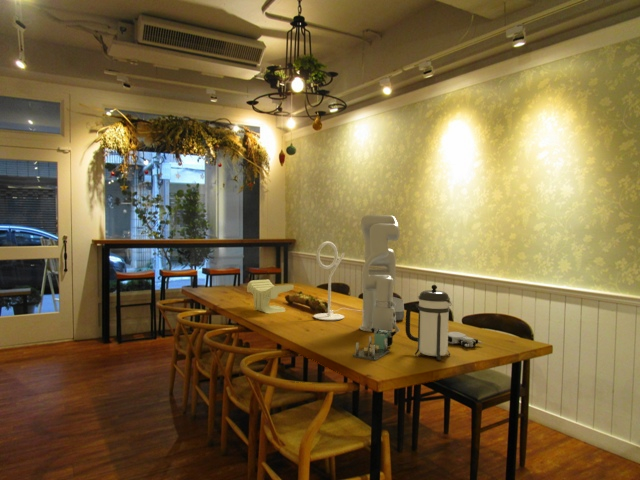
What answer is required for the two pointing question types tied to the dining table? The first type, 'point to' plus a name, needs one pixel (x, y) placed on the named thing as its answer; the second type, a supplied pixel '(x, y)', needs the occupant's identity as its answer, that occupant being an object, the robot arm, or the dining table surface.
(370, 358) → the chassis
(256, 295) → the slatted curved stool
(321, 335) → the dining table surface
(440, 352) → the coffee press
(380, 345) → the teal block
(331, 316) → the desk lamp
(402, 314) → the smart speaker
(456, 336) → the robot toy
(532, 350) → the dining table surface
